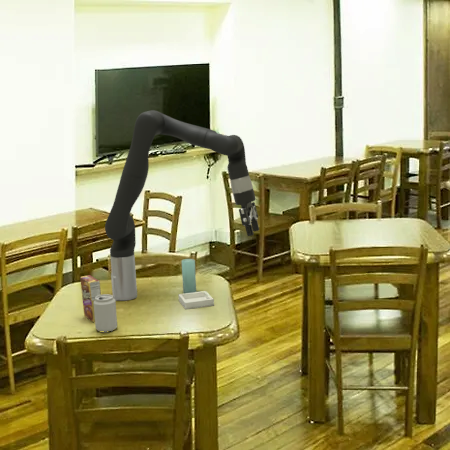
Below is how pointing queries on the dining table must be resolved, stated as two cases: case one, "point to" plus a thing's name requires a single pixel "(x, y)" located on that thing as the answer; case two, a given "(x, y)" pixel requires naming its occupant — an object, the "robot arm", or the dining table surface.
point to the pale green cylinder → (188, 276)
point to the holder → (196, 300)
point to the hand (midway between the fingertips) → (253, 233)
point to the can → (105, 313)
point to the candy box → (89, 295)
